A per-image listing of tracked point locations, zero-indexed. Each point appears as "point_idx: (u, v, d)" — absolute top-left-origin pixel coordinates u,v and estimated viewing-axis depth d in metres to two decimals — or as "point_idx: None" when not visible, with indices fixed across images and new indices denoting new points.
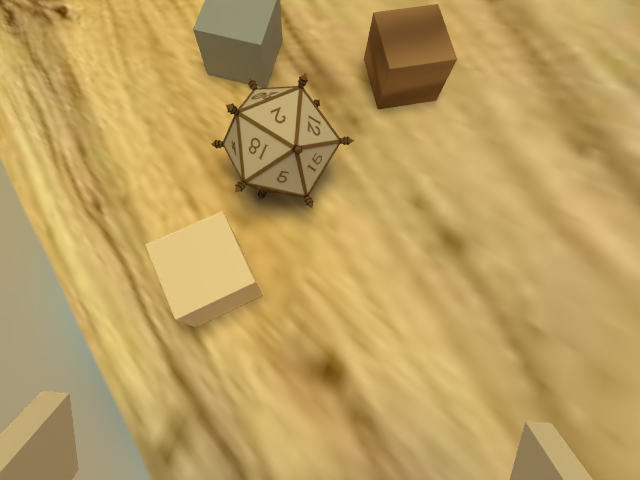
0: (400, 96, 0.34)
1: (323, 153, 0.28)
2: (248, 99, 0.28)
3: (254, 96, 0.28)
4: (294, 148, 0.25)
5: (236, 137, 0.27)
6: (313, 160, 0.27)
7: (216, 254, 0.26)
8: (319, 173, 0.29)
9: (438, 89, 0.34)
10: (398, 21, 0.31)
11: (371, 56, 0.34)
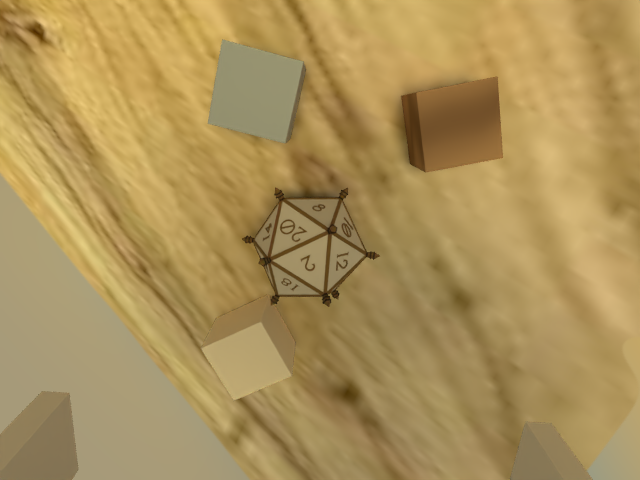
0: None
1: None
2: (277, 229, 0.28)
3: (283, 223, 0.28)
4: (324, 301, 0.27)
5: (268, 267, 0.28)
6: None
7: (259, 355, 0.32)
8: (345, 277, 0.31)
9: None
10: (444, 105, 0.27)
11: (409, 115, 0.30)
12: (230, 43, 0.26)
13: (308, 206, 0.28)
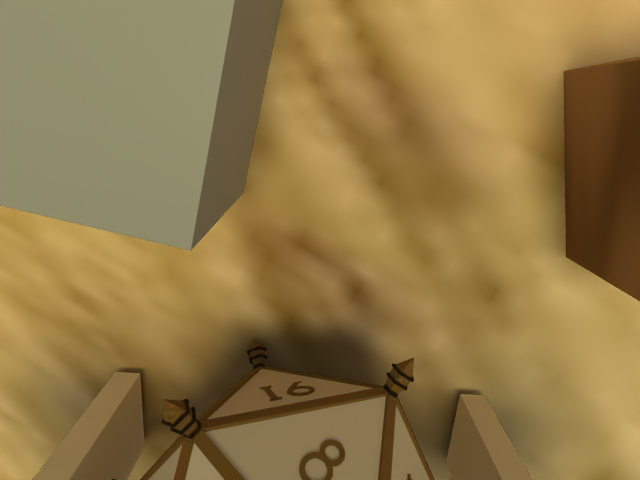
0: None
1: None
2: None
3: None
4: None
5: None
6: None
7: None
8: None
9: None
10: None
11: (614, 132, 0.09)
12: None
13: (284, 459, 0.08)
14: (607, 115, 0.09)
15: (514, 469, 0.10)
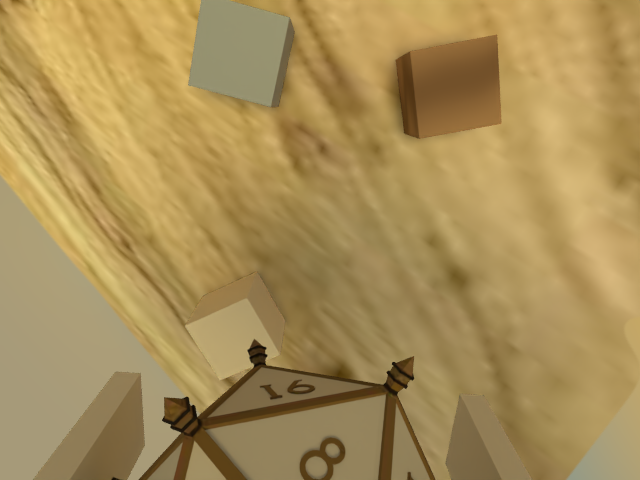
0: None
1: None
2: None
3: None
4: None
5: None
6: None
7: (246, 333, 0.30)
8: None
9: None
10: (440, 65, 0.25)
11: (403, 79, 0.28)
12: None
13: (285, 457, 0.08)
14: (402, 74, 0.28)
15: (514, 469, 0.10)
